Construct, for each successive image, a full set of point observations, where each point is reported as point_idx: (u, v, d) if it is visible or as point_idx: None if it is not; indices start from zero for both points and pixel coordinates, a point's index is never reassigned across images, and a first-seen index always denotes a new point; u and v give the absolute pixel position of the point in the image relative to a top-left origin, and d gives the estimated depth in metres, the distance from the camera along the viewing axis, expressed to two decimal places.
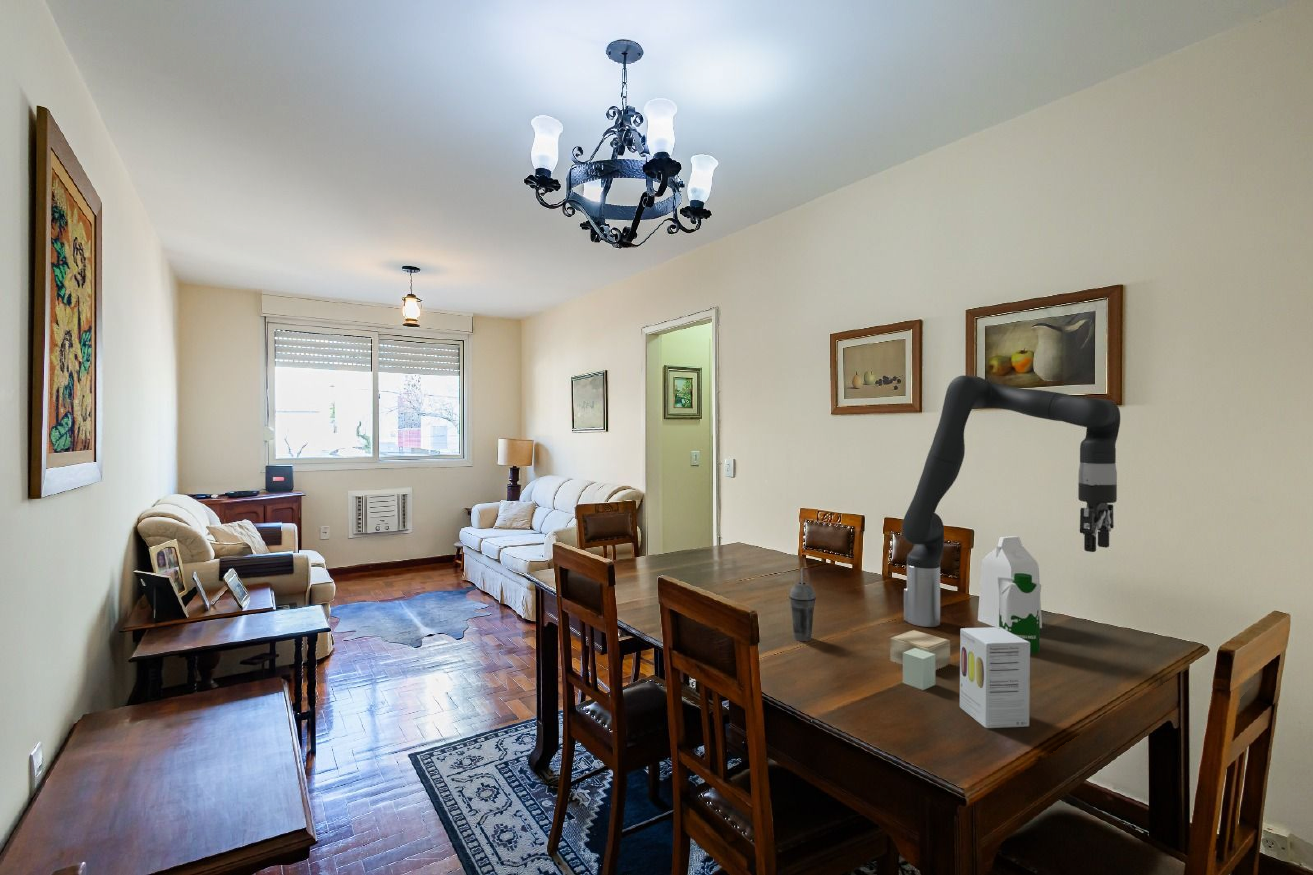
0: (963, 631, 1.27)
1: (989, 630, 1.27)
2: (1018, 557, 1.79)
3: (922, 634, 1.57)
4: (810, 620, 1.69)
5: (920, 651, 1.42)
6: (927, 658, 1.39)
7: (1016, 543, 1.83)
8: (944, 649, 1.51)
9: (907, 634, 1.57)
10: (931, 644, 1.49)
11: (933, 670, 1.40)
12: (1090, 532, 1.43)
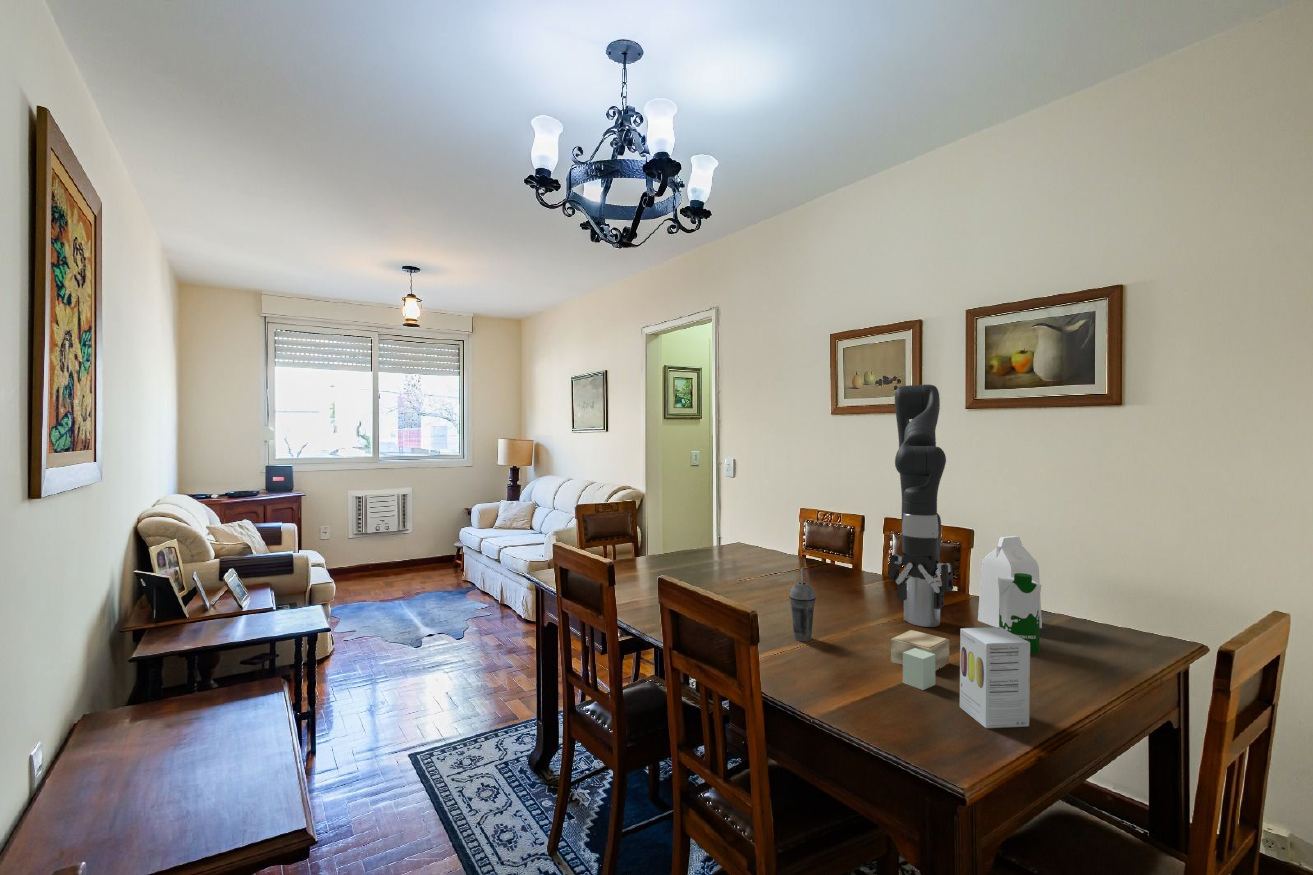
0: (963, 631, 1.27)
1: (989, 630, 1.27)
2: (1018, 557, 1.79)
3: (921, 634, 1.57)
4: (810, 620, 1.69)
5: (920, 651, 1.42)
6: (927, 658, 1.39)
7: (1016, 543, 1.83)
8: (944, 648, 1.52)
9: (906, 634, 1.56)
10: (932, 644, 1.49)
11: (933, 670, 1.40)
12: (952, 588, 1.35)
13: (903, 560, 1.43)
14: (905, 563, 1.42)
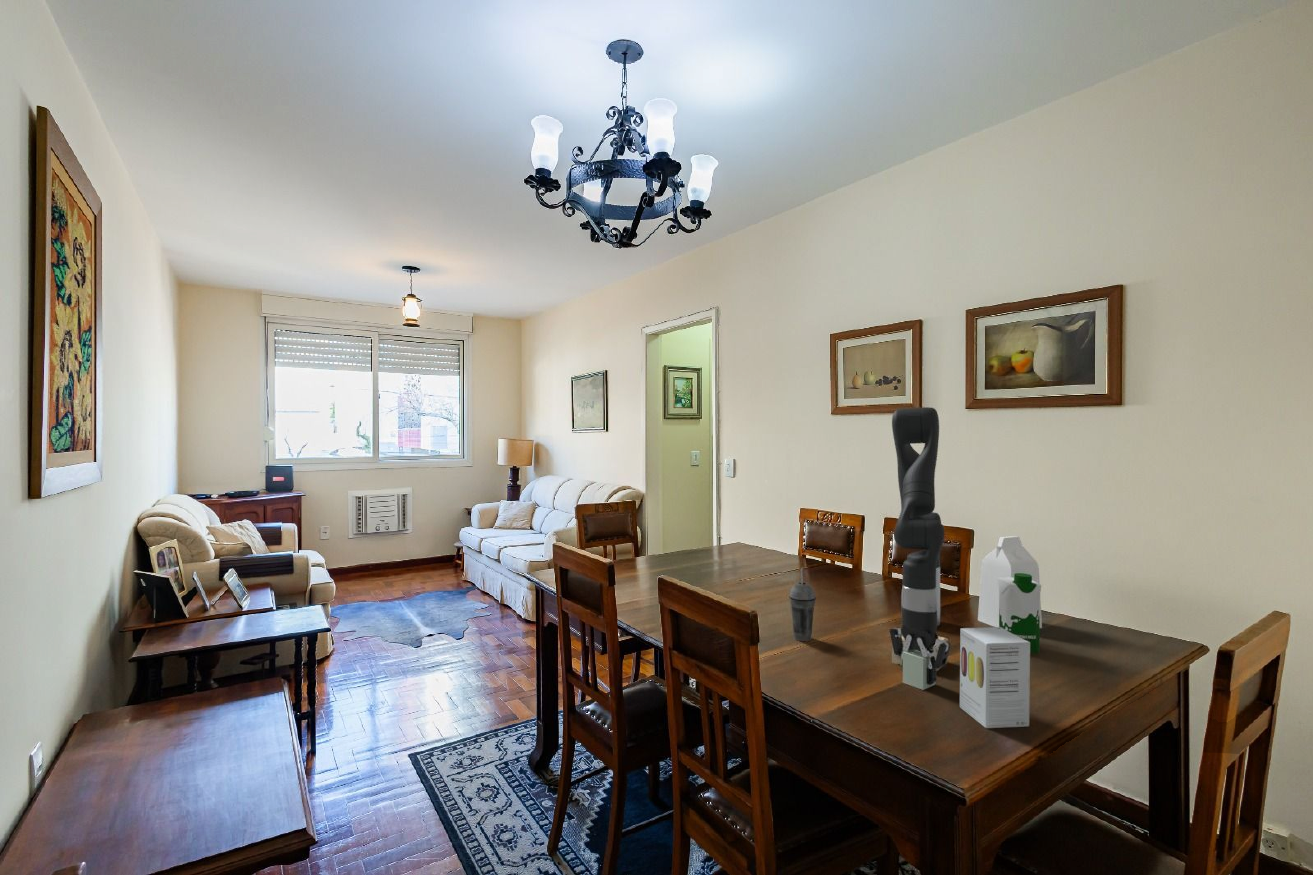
0: (963, 631, 1.27)
1: (989, 630, 1.27)
2: (1018, 557, 1.79)
3: None
4: (810, 620, 1.69)
5: None
6: None
7: (1016, 543, 1.83)
8: None
9: None
10: None
11: None
12: (944, 664, 1.37)
13: (902, 632, 1.43)
14: (905, 634, 1.42)
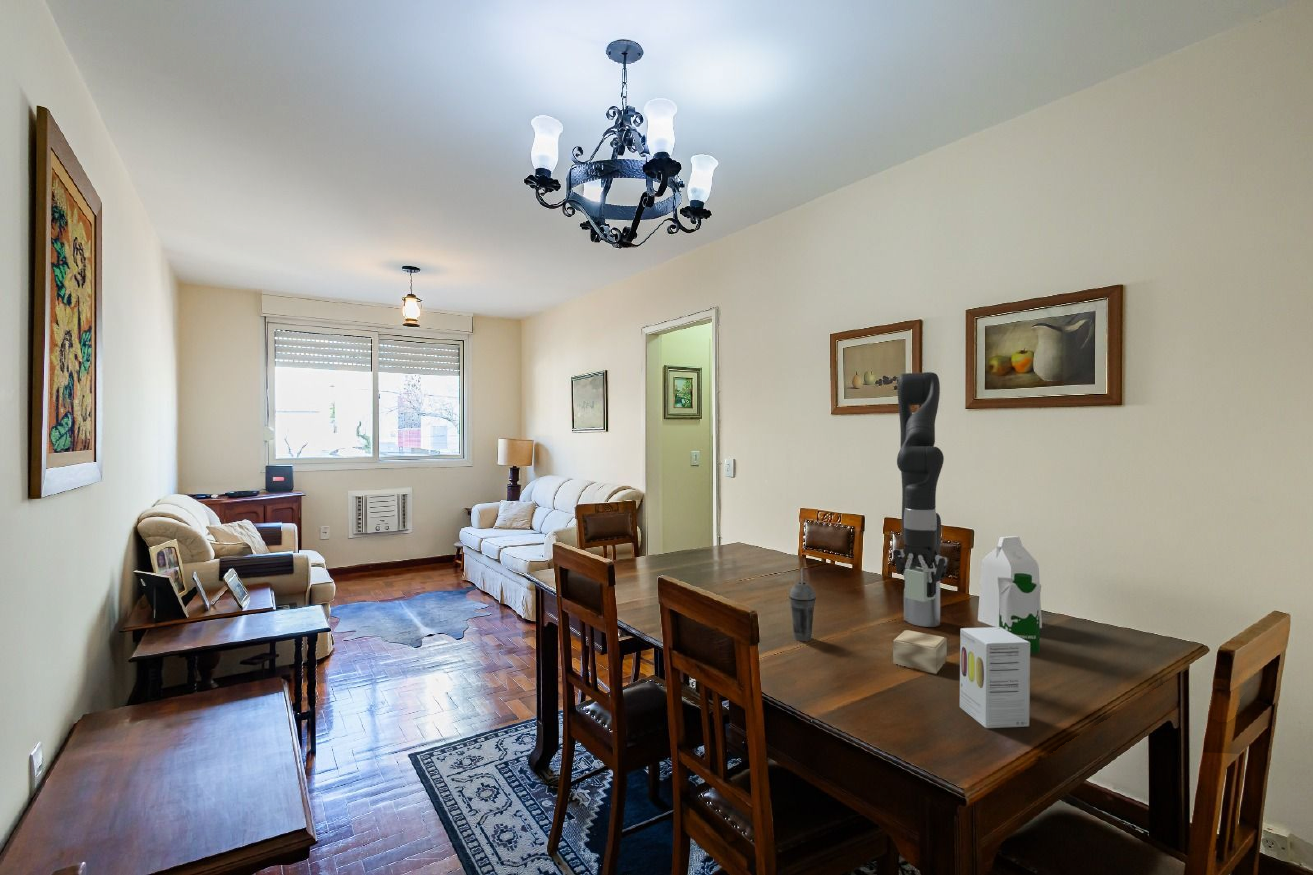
0: (963, 631, 1.27)
1: (989, 630, 1.27)
2: (1018, 557, 1.79)
3: (918, 633, 1.57)
4: (810, 620, 1.69)
5: (921, 569, 1.55)
6: None
7: (1016, 543, 1.83)
8: (944, 647, 1.53)
9: (905, 635, 1.56)
10: (935, 643, 1.50)
11: None
12: (943, 578, 1.50)
13: (904, 551, 1.55)
14: (907, 553, 1.55)
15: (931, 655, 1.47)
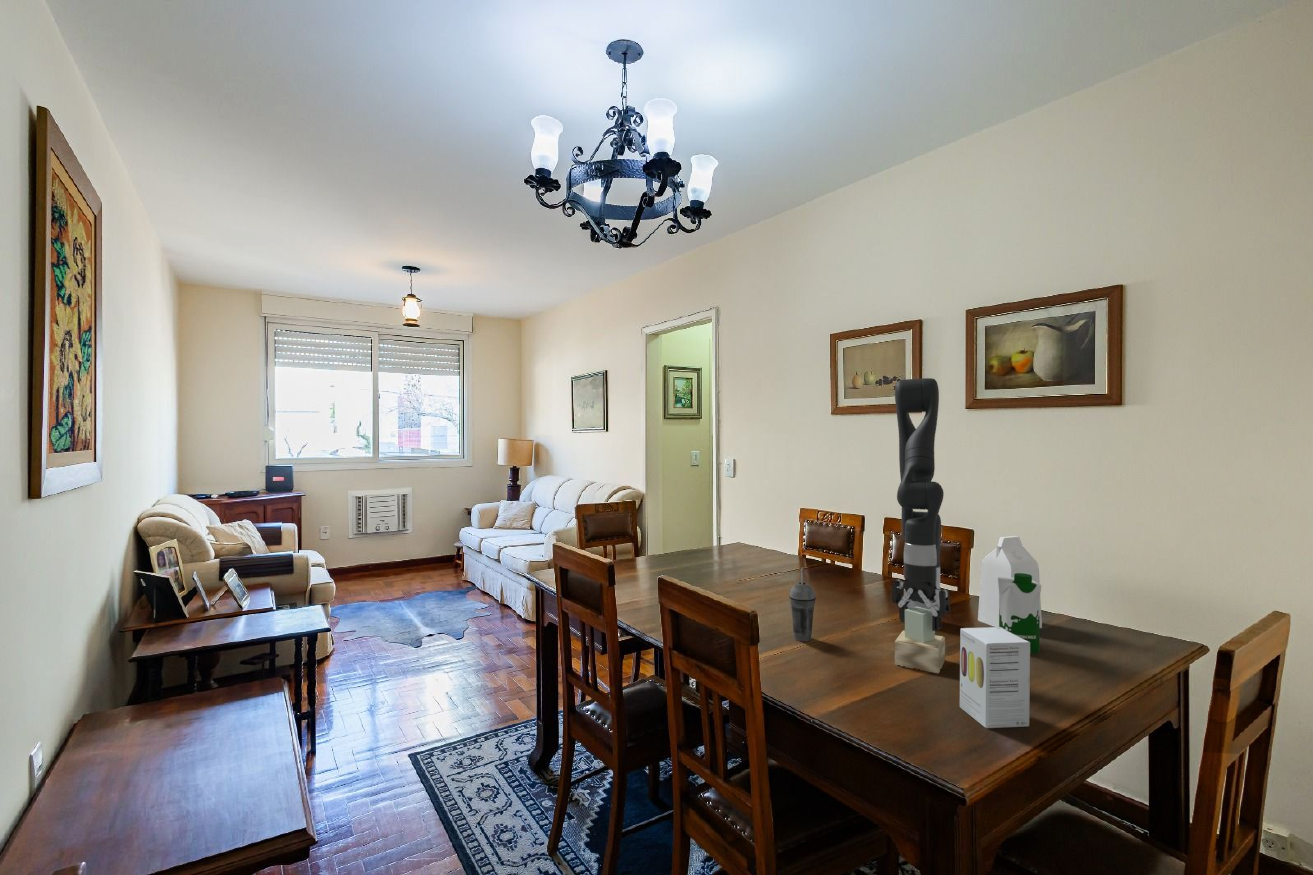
0: (963, 631, 1.27)
1: (989, 630, 1.27)
2: (1018, 557, 1.79)
3: None
4: (810, 620, 1.69)
5: (921, 609, 1.55)
6: (927, 614, 1.51)
7: (1016, 543, 1.83)
8: (943, 646, 1.53)
9: None
10: (936, 643, 1.50)
11: None
12: (949, 612, 1.48)
13: (904, 585, 1.56)
14: (906, 588, 1.55)
15: (934, 655, 1.47)
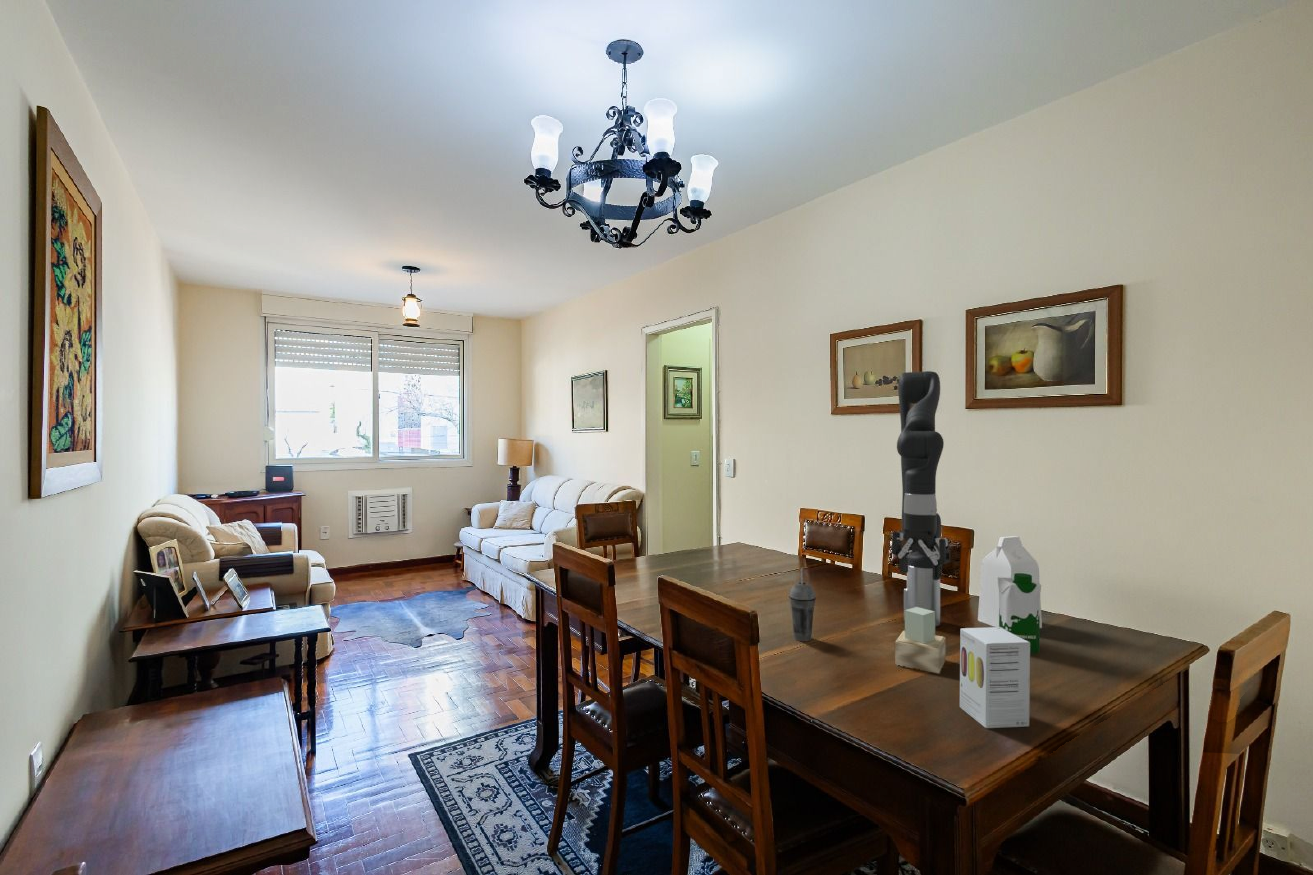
0: (963, 631, 1.27)
1: (989, 630, 1.27)
2: (1018, 557, 1.79)
3: None
4: (810, 620, 1.69)
5: (921, 609, 1.54)
6: (927, 614, 1.51)
7: (1016, 543, 1.83)
8: (943, 646, 1.53)
9: None
10: (937, 643, 1.50)
11: (933, 626, 1.52)
12: (949, 561, 1.48)
13: (904, 536, 1.55)
14: (906, 539, 1.55)
15: (934, 655, 1.47)
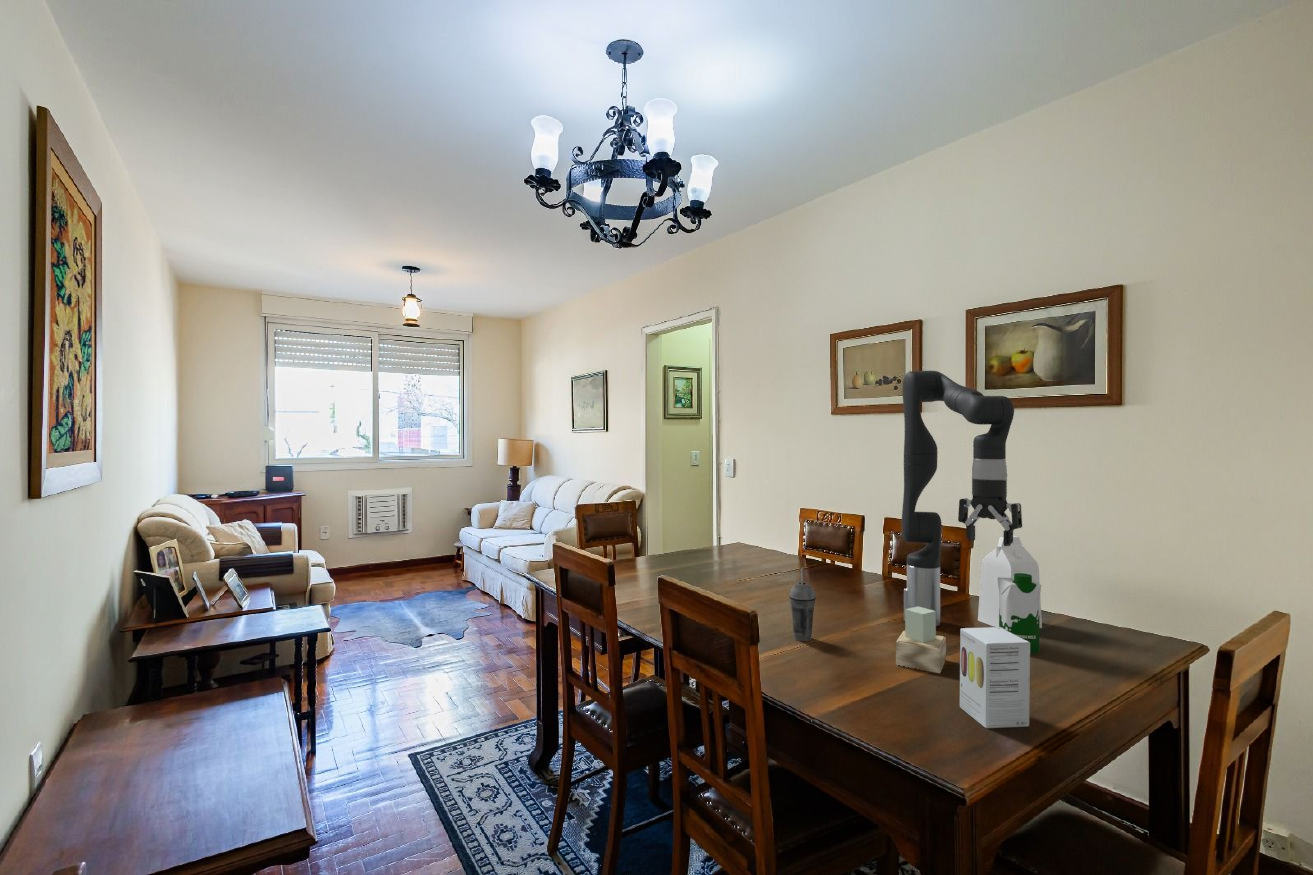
0: (963, 631, 1.27)
1: (989, 630, 1.27)
2: (1018, 557, 1.79)
3: None
4: (810, 620, 1.69)
5: (922, 609, 1.55)
6: (927, 613, 1.51)
7: (1016, 543, 1.83)
8: (944, 646, 1.53)
9: None
10: (937, 643, 1.50)
11: (933, 625, 1.52)
12: (1021, 526, 1.46)
13: (972, 503, 1.53)
14: (974, 505, 1.53)
15: (935, 655, 1.47)
